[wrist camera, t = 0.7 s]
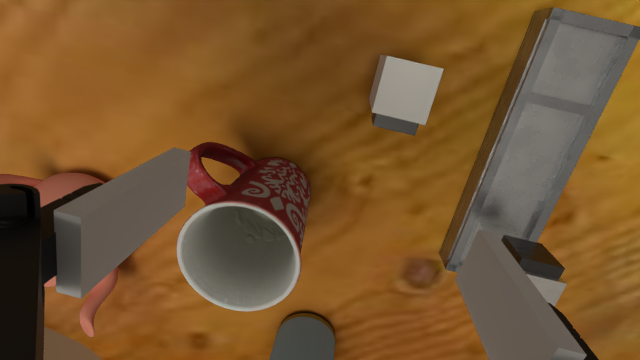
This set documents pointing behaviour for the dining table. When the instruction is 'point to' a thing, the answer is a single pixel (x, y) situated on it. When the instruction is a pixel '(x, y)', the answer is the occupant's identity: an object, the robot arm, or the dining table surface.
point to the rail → (539, 138)
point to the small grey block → (403, 94)
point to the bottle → (304, 339)
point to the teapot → (57, 189)
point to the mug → (244, 230)
